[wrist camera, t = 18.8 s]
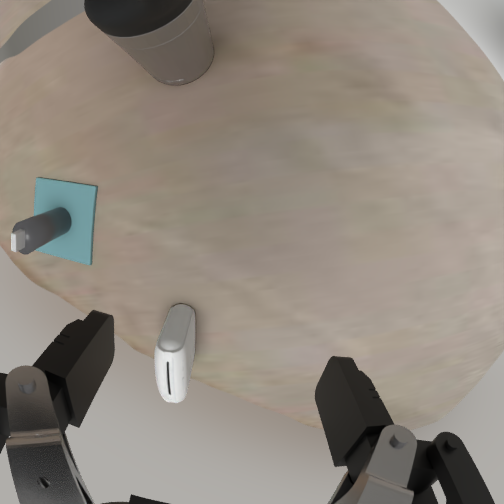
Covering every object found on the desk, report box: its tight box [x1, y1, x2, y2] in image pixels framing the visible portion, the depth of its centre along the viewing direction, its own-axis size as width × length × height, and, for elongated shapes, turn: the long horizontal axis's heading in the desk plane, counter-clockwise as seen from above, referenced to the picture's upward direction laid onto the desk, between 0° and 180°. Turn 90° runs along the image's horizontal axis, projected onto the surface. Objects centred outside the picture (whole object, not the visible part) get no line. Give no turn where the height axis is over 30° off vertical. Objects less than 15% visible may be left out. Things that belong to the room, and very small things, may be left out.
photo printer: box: [155, 304, 195, 403], centre depth 38 cm, size 10×4×12 cm, turn 174°
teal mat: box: [34, 177, 98, 265], centre depth 37 cm, size 12×12×1 cm
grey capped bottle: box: [11, 207, 72, 254], centre depth 31 cm, size 4×4×12 cm
